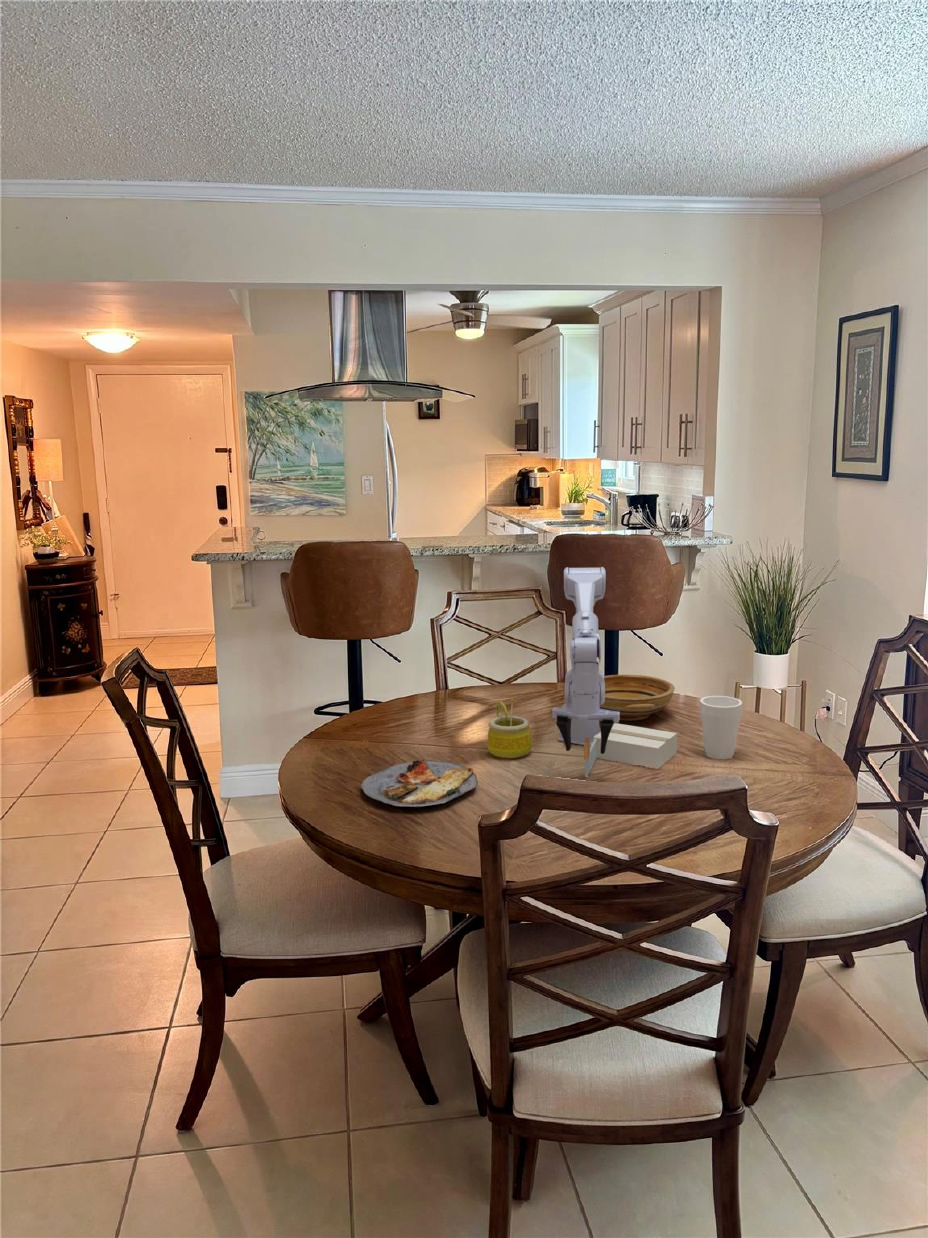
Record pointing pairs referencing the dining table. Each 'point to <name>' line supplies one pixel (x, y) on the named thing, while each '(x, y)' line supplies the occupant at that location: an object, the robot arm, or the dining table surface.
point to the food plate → (420, 783)
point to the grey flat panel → (589, 754)
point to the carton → (638, 746)
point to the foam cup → (720, 725)
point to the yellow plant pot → (509, 735)
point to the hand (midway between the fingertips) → (585, 750)
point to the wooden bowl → (636, 695)
